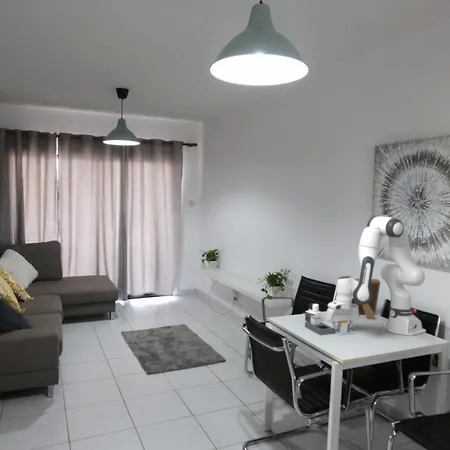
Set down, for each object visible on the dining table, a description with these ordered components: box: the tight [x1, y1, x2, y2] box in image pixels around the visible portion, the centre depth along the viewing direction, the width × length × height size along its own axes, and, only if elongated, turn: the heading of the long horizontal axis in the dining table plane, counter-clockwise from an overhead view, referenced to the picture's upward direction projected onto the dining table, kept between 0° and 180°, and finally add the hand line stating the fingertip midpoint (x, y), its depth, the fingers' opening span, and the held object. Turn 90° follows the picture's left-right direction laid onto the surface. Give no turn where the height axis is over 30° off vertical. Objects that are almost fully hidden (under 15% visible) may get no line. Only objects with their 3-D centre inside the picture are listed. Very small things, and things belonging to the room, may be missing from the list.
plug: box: [336, 321, 349, 333], centre depth 240 cm, size 4×4×7 cm
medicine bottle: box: [304, 302, 323, 322], centre depth 261 cm, size 7×7×12 cm
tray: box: [334, 328, 356, 337], centre depth 240 cm, size 10×10×2 cm
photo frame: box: [352, 278, 381, 321], centre depth 275 cm, size 15×22×25 cm
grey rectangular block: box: [311, 315, 322, 325], centre depth 246 cm, size 4×4×7 cm
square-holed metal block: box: [304, 321, 335, 336], centre depth 243 cm, size 16×9×4 cm, turn 21°
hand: (342, 328), depth 239 cm, fingers open, 8 cm apart
